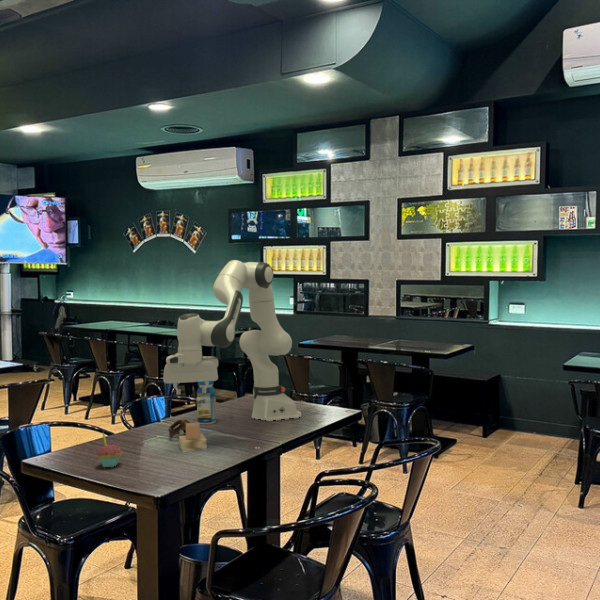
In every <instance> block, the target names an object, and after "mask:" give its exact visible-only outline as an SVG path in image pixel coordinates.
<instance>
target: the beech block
mask: <svg viewBox="0 0 600 600" xmlns="http://www.w3.org/2000/svg"><path fill="white" fill-rule="evenodd" d="M178 446H179V449H180V451H181V452H182V451H186V452H191V451H190V450H195V451H200V450H199V449H204V450H207V449H208V448H207V447H208V445H207V438H206V437H205V435H204V434H203V433H200V439H191V440H186V434H185V435H178Z"/></svg>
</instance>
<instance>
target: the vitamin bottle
mask: <svg viewBox="0 0 600 600" xmlns="http://www.w3.org/2000/svg"><path fill="white" fill-rule="evenodd" d="M214 382H215V381H209V385H208V387H207V388H206V393H202V388H204V387H205V385H206V384H205V381H204V382H197V385H198V388H197V390H196V409H197V410H196V413H197V415H196V416H197V418H196V419H197V422H196V423H200V425H212V424H215V423H216V422H217V404H216V403H217V397H216V390H215V388H214V386H213V385H214Z"/></svg>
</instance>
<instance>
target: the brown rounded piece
mask: <svg viewBox="0 0 600 600" xmlns="http://www.w3.org/2000/svg"><path fill="white" fill-rule="evenodd" d="M186 423H190V421H189V420H188V419H182V418H181V419H178V420H176V421H174V422H173V423H172V424H171V425H170V426H169V428H168V429H167V432H168V436H169V438H171V439H172V438H173V436H176V435H178V436H181V433H180V432H181V431H182V432H183V433H184V434H186Z"/></svg>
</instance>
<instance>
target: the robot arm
mask: <svg viewBox="0 0 600 600" xmlns="http://www.w3.org/2000/svg"><path fill="white" fill-rule="evenodd" d="M273 281H274V269H273V267H272V266H271V264H269V263H267V262H263V261H260V262H258V261H255V262H254V261H248V262H242V261H240V260H238V259H232V260H229V261H228V262H227V263H226V264H225V266H223V268H222V269H221V271H220V272H219V274H218V275H217V277H216V279H215V281H214V283H213V286H212V291H213V294H214V297H215V298H216V299H217V300H218V301H219V302H220V303H222V304H224V305H226V306H227V307H226V310H225V313H224V316H223V318H222V319H219V320H205V319H202V318H201V317H200V315H199V313H197V312H196V313H195V312H189V313H184V314H181V315H180V316H179V317H178V321H177V328H176V329H177V332H176V334H177V335H176V336H177V340H178V347H177V353H173V354H171V355H169V356H166V359H165V362H166V364H165V366H164V368H163V369H164V370H163V377H162V378H163V383H164V384H166V385H167V384H172V386H173V388H174V389H175V390H176V396H180V395H181V388H179V389H178V383H179V384H182V383H185V384H186V383H198V382H204V381H205V384H206V385H205V387H204V388H202V393H206V388H207V387H208V385H209V381H214V382H216V381H217V380H218V379H219V375H218V374H219V373H218V367H219V359H218V357H216V356H214V355H211V356H209V355H208V356H205V355H204V356H203V351H202V350H203V347H202V346H205V347H216V348H223V349H226V348H228V347H229V346H230V345H232V343H233V342H234V341H235V337H236V331H237V330H236V328H237V325H238V321H239V318H240V314H241V311H242V307H243V303H244V302H243V301H244V296H243V294H242V292H241V291H242V289H248V303H249V305H248V306H249V311H250V312H249V315H250V318H251V321H253V322H254V323H256V324H257V325H258V326H259V327H260V330H259V329H251V330H247V331H244V332H242V334H241V335H240V338H239V348H240V349H241V351H242V352H244V353H245V355H246V356H247V357H248V359H249V361H250V363H251V366H252V369H253V371H252V372H253V381H254V382H253V387H252V388H253V389H252V397H253V407H252V412H251V413H252V414H251V418H252V419H254V418H255V419H254V420H258V419H261V420H260V421H265V420H266V422H274V421H273V420H276V421H282V420H281V419H285V420H290V419H289V418H294V419H300V418H301V417H302V412H301V411H300V410H297V405H296V402H295V401H294V400H293V399H292V398H291V397H289V396H288V395H286V393H285V391H286V388H285V387H284V386H282V385H280V384H279V382H280V380H279V369H278V366H277V365H276V364H275V363H274V362H272V361H271V359H270V357H269V356H283V355H287V354H289V352H291V349H292V346H293V340H292V337H291V336H290V334H289V333H288V332H286V331H285V329H283V327H282V326H281V324H280V322H279V319H278V317H277V314H276V307H275V298H274V290H273V285H272V282H273ZM299 417H300V418H299Z"/></svg>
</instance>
